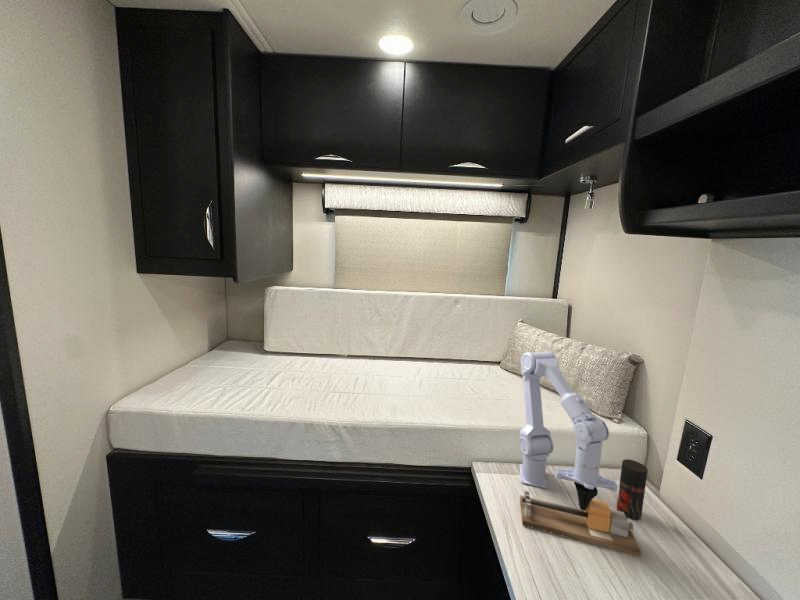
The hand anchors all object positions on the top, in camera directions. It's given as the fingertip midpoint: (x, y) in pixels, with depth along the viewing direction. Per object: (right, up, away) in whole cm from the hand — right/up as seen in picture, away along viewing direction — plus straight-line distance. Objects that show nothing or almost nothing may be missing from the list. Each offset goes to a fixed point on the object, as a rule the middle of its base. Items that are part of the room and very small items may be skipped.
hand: (582, 507), depth 85 cm
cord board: (-2, -6, +1) cm, 6 cm away
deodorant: (+18, -6, +7) cm, 20 cm away
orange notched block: (+3, -4, -1) cm, 5 cm away
